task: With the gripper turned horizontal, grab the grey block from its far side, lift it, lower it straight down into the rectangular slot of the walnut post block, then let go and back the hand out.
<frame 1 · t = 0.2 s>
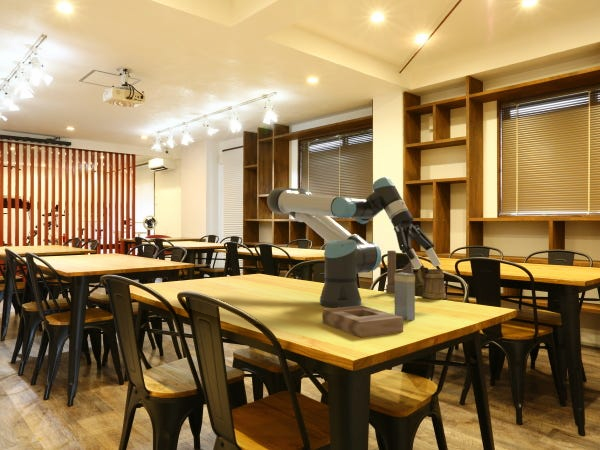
hand: (428, 266, 157), 15 cm above the table, tool tilted 35°, fingers open, 13 cm apart
wooden mug: (428, 297, 184), on the table
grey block: (404, 318, 143), on the table
wooden block: (399, 293, 194), on the table
walnut post block: (361, 326, 131), on the table
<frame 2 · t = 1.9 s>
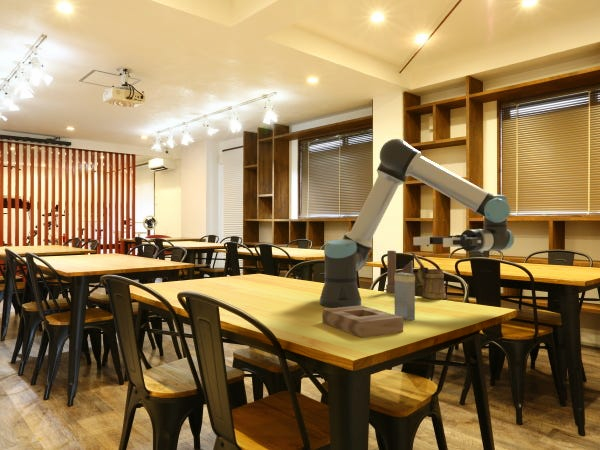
hand: (428, 241, 147), 24 cm above the table, tool horizontal, fingers open, 13 cm apart
nothing on the table moved.
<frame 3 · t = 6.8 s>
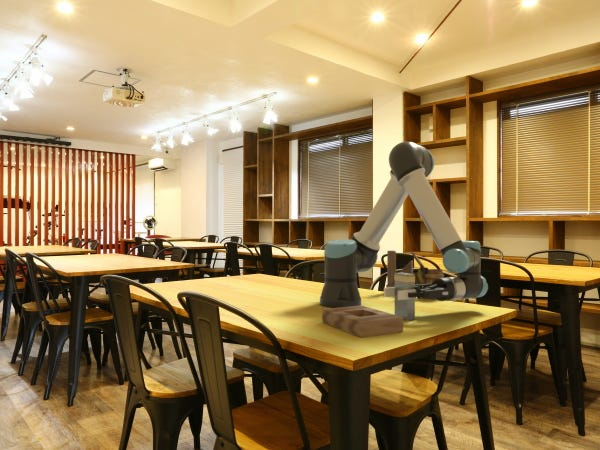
hand: (391, 293, 140), 8 cm above the table, tool horizontal, fingers closed on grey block, 6 cm apart
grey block: (404, 318, 143), on the table, touching gripper
everything else where it was.
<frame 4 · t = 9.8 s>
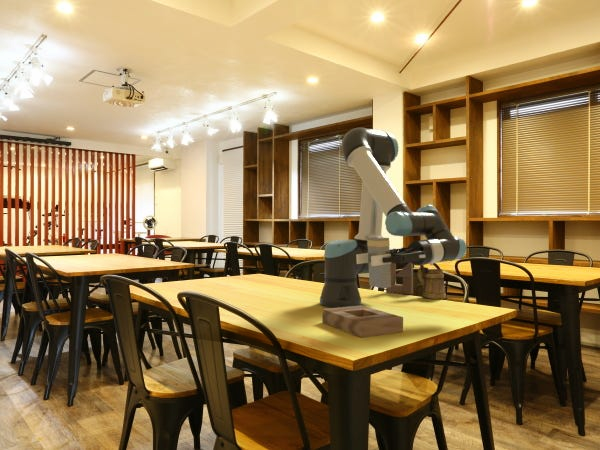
hand: (364, 260, 129), 19 cm above the table, tool horizontal, fingers closed on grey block, 6 cm apart
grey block: (380, 286, 132), point 12 cm above the table, touching gripper
everything else where it was.
when the fingers open (9 cm above the table, at t = 13.0 s): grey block drops 1 cm, resting in walnut post block.
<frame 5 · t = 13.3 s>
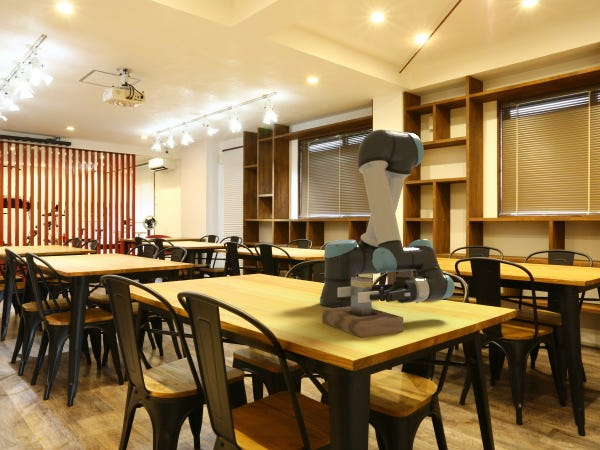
hand: (348, 295, 129), 9 cm above the table, tool horizontal, fingers open, 10 cm apart
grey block: (360, 326, 131), resting in walnut post block
everything else where it was.
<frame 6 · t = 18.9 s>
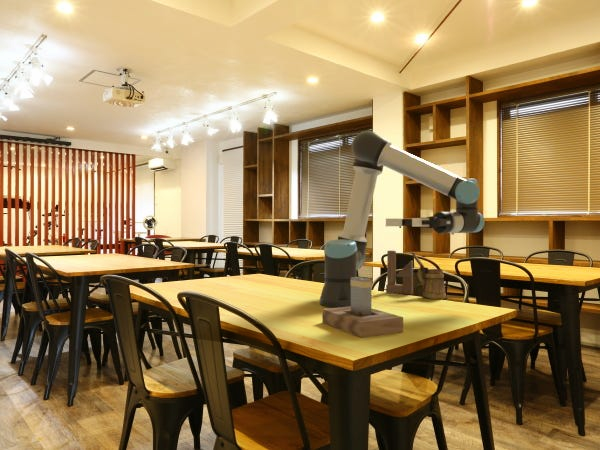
hand: (398, 222, 152), 30 cm above the table, tool horizontal, fingers open, 13 cm apart
nothing on the table moved.
at the end: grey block 0.1 cm off-centre on the walnut post block, point 0.0 cm above the walnut post block's base; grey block tilted 0°; the gripper is holding nothing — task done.
